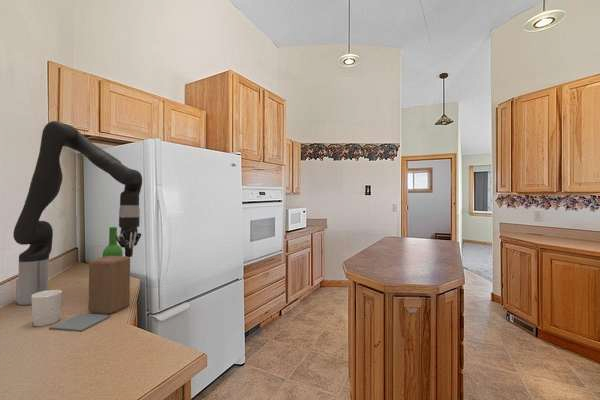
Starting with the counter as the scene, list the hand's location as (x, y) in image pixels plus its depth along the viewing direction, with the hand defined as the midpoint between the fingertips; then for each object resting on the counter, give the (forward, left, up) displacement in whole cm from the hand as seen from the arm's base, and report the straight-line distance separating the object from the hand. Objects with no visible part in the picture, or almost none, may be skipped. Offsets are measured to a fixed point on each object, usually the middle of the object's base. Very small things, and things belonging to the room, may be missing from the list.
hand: (128, 256), depth 122 cm
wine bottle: (-14, +8, -19) cm, 25 cm away
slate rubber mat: (0, -23, -18) cm, 29 cm away
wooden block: (0, -10, -19) cm, 21 cm away
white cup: (-12, -24, -19) cm, 33 cm away
